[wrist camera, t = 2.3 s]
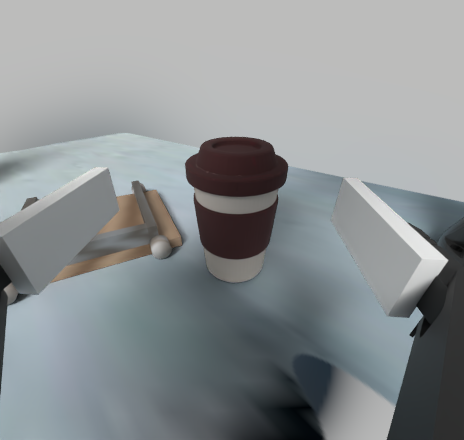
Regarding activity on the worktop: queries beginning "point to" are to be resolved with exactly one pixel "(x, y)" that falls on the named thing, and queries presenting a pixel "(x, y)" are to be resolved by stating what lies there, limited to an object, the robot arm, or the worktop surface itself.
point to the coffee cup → (235, 203)
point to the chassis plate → (123, 236)
